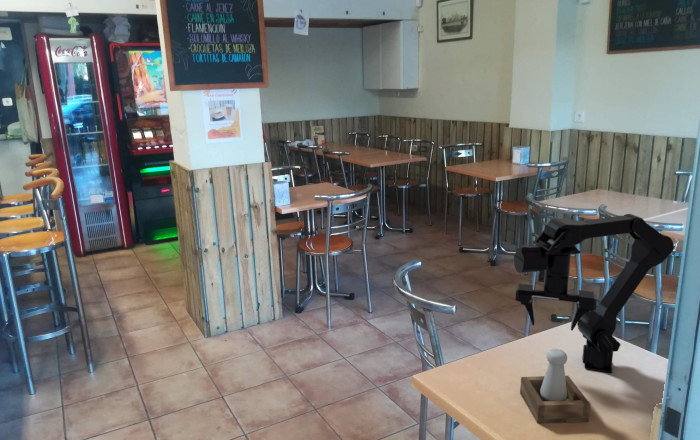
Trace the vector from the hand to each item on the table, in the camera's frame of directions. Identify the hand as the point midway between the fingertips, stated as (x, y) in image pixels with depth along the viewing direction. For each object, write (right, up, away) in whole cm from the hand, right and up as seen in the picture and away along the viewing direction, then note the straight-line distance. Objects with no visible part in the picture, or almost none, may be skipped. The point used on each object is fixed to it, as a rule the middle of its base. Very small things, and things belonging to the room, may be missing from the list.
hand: (552, 327), depth 133 cm
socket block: (-5, -16, -13) cm, 21 cm away
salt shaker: (-5, -15, -12) cm, 20 cm away
